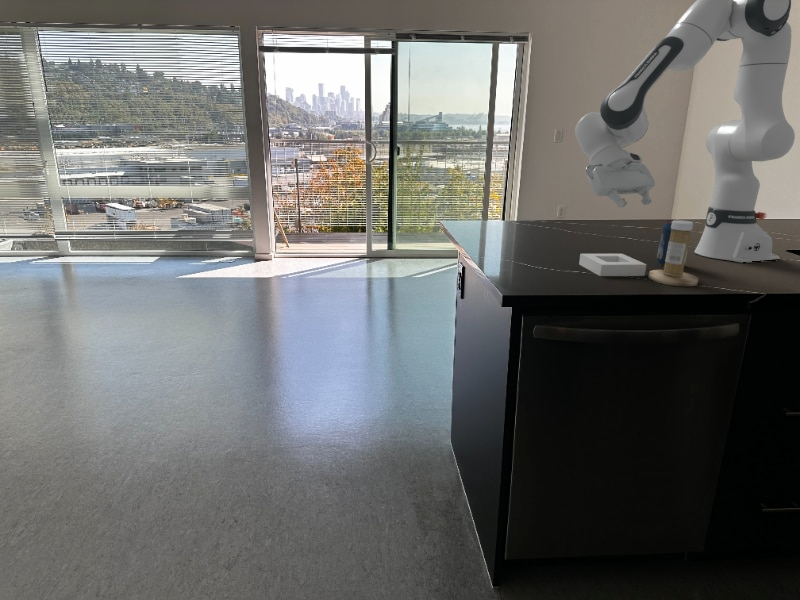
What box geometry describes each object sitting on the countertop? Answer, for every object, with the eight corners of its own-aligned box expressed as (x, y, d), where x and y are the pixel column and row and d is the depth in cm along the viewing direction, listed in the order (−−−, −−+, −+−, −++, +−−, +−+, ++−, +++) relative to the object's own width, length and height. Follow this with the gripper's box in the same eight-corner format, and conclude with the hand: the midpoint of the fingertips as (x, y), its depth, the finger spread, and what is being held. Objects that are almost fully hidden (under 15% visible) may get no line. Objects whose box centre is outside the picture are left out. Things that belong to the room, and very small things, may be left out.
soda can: (688, 266, 140) (697, 223, 137) (674, 269, 137) (683, 225, 133) (664, 260, 146) (672, 219, 142) (650, 263, 142) (658, 221, 139)
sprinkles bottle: (686, 276, 126) (697, 221, 121) (676, 278, 123) (688, 223, 119) (667, 271, 129) (677, 219, 125) (658, 274, 127) (668, 220, 122)
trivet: (679, 274, 132) (679, 269, 132) (707, 286, 122) (708, 281, 121) (639, 274, 131) (640, 269, 130) (665, 286, 121) (666, 281, 120)
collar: (620, 264, 141) (621, 253, 140) (644, 275, 130) (646, 264, 129) (579, 264, 139) (580, 253, 139) (600, 276, 128) (601, 264, 127)
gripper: (590, 157, 132) (615, 199, 127) (644, 155, 140) (670, 194, 135) (575, 173, 137) (599, 214, 132) (628, 170, 146) (653, 209, 140)
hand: (635, 204), depth 134 cm, fingers open, 8 cm apart
